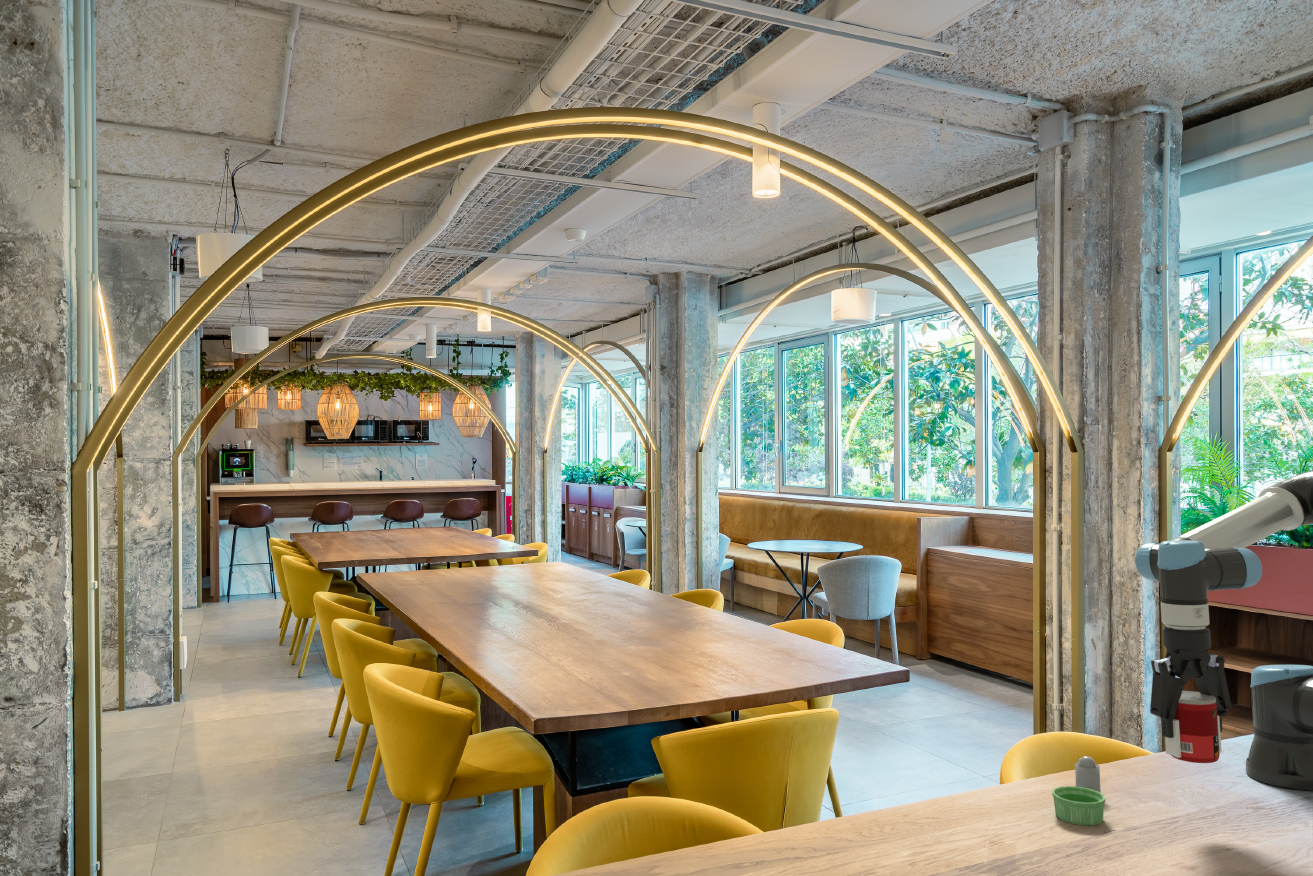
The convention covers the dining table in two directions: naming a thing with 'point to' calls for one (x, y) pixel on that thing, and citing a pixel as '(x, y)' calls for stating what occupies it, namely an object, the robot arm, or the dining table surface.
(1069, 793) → the ramekin
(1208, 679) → the robot arm
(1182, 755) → the canned food
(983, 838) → the dining table surface
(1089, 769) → the pepper pot
